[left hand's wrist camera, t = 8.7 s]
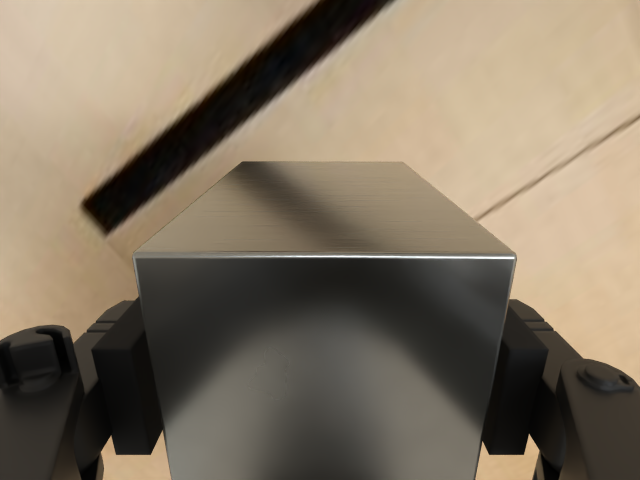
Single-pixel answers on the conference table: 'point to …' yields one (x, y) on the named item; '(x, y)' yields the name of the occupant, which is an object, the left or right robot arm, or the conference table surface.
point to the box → (323, 326)
